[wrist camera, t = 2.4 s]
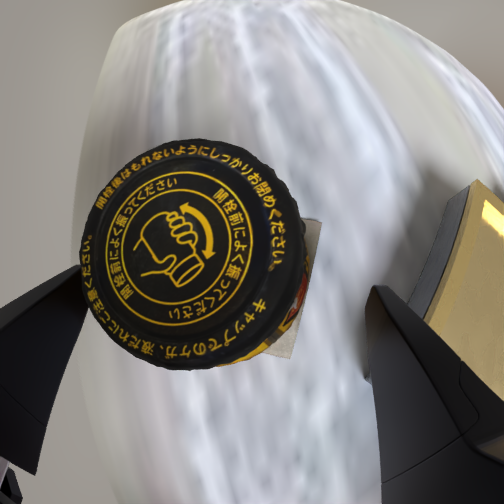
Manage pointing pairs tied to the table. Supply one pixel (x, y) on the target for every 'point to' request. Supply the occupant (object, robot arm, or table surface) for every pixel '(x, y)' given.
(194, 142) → the condiment
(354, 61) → the table surface
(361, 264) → the table surface
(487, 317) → the gold square tray
